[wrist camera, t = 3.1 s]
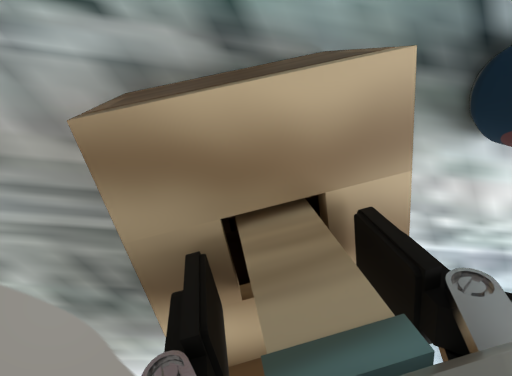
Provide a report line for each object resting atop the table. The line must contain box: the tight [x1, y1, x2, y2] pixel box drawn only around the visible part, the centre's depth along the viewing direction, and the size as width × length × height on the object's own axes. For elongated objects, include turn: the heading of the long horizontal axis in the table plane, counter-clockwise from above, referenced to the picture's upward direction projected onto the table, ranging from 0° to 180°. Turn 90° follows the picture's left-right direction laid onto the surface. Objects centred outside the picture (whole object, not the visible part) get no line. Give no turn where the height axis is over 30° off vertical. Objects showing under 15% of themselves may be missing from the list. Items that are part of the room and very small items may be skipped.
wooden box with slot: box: [82, 47, 395, 285], centre depth 18 cm, size 20×12×7 cm, turn 11°
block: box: [235, 198, 434, 376], centre depth 13 cm, size 4×4×14 cm
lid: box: [67, 45, 417, 376], centre depth 13 cm, size 20×12×4 cm, turn 11°
